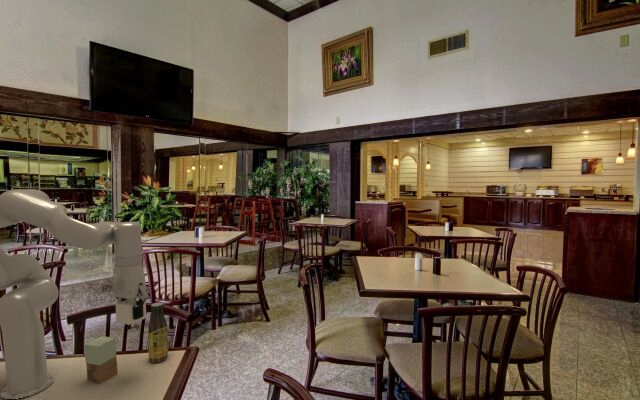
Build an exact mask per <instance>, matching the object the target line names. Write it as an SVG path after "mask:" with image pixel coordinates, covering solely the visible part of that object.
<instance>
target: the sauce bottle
mask: <svg viewBox="0 0 640 400" xmlns="http://www.w3.org/2000/svg"><path fill="white" fill-rule="evenodd" d="M150 309H151V319H150V320H149V323H148V327H147V328H148V331H147V336H148V337H147V338H148V341H147V342H148V346H147V348H148V360H149V363H152V364H156V363H161V362H164V361H165V360H167V359H168V354H169V339H168V338H169V337H168V333H169V332H168V323H167V319H166V317H165V316H164V315H165V314H164V302H155V303H152V304H151V305H150Z"/></svg>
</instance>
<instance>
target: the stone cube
mask: <svg viewBox="0 0 640 400" xmlns="http://www.w3.org/2000/svg"><path fill="white" fill-rule="evenodd" d="M136 300H137V302H138V300H139V298H137V299H136ZM146 301H147V300H146ZM146 301H145V302H144V305H143V313H144V316H143V317H141V318H139V319H136V320H134V319H133V307H134V304H133V301H132V299H126V300H123V301H120V302H117V301H116V302H115V321H116V322H117V323H119V324H124V325H128V326H130V325H133V324H135V323H137V322H140V321H142V320H145V319H147V307H146V306H147V303H146Z"/></svg>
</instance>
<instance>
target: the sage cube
mask: <svg viewBox="0 0 640 400" xmlns="http://www.w3.org/2000/svg"><path fill="white" fill-rule="evenodd" d="M83 345H84V359H85V363H89V364H94V365H101V364H103V363H105V362H107V361H108V360H110V359H112V358H114V357H117V344H116V337H109V336H103V335H102V336H99V337H97V338H95V339H93V340H90V341H89V342H87V343H85V344H83Z"/></svg>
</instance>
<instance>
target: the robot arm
mask: <svg viewBox="0 0 640 400" xmlns="http://www.w3.org/2000/svg"><path fill="white" fill-rule="evenodd" d="M67 211H68V210H67V207H66V206H65V205H63V204H62V203H61V204H60V203H59V202H56V201H53V200H51V199H50V197H49V195H48V194H47V193H45V192H44V191H42V190H39V189H34V188H33V189H32V188H31V189H30V188H27V189H26V188H25V189H24V188H22V189H19V188H18V189H11V190H7V191H5V192H2V193H1V194H0V229H1V228H6V227H10V226H12V225H16V224H19V223H21V222H23V223H26V224H30V225H32V226H34V227H37V228H40V229H43V230H46V231H47V232H48V233H49V234H50V235H51V236H53V238H55V239H56V240H58V241H59V242H62V243H64V244H67V245H70V246H73V247H76V248H78V249H80V250H89V251H90V250H96V249H100V248H102V247H106V246H109V245H112V244H113V245H114V246H113V248H114V249H113V250H114V267H113V273H112V295H113V296H114V297H115V298H116V303H117V302H120V301H123V300H126V299H132V301H133V304H134V307H133V319H134V320H136V319H139V318H141V317H143V316H144V313H143V305H144V302H145V301H147V300H148V298H149V294H148V292H147V287H146V278H145V277H146V276H145V271H144V270H145V269H144V266H143V250H142V245H143V244H142V227H141V224H140V223H139V222H138V221H122V222H117V221H116V222H115V221H101V222H95V223H90V224H89V223H86V222H83V221H81V220H78V219H75V218H73V217H70V216H68V214H67V213H68V212H67ZM14 286H16V287H17V288H14V289H12V290H11V291H8V292H6V293H5V294H3V295H2V296H1V297H0V328H1V335H2V343H3V353H4V364H5V365H4V366H5V377H6V378H5V379H6V386H5V387H4V388H3V389H2V390H1V391H0V398H1V397H2V398H4V399H16V398H21V397H25V398H28V397H31V396H34V395H37V394H39V393H40V392H42V391H44V390H46V389H48V388H49V387H50V386H52V384H53V383H54V381H55V376H54V375H53V374H52V373H48V365H47V364H48V363H47V353H46V352H47V351H46V339H45V328H44V324H43V322H42V320H41V318H40V317H39V315H38V313H40V312H41V311H44V310H45V309H47V308H49V307H51V306H52V305H53V304H55V302H56V301H57V300H58V298H59V289H58V286H57V284H56V283H55V281H54V280H53V279H52V277H51V276H50V274H49V273H48V272H47V270H46V269H45V268H44V267H43V265H42V264H41V263H40V262H39V261H38V260H37V259H36V257H33V256H32V255H30V254H27V253H16V254H15V253H14V254H11V255H8V254H7V253H6V252H5V251H4V250H3V249H2V247H1V246H0V291H3V290H5V289H6V290H7V289H8V288H12V287H14ZM137 298H139V300H138V302H137V300H136V299H137ZM27 396H28V397H27ZM2 398H1V399H2ZM4 399H3V400H4Z"/></svg>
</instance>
